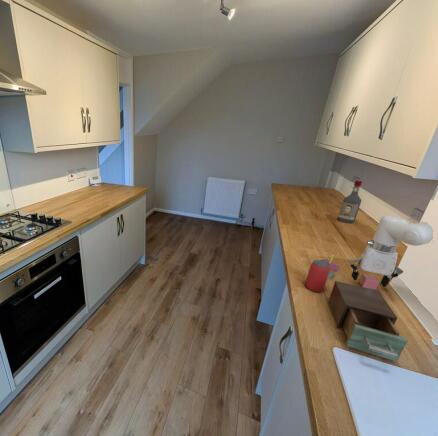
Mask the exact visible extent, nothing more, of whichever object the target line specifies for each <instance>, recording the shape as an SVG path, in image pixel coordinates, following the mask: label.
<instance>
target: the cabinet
mask: <svg viewBox="0 0 438 436" xmlns="http://www.w3.org/2000/svg"><path fill="white" fill-rule="evenodd" d="M327 302H328V305H329V308H330V311H331V315H332V318H333V320H334V323H335V326H336V328H337V329H340V330H344V328H343V325H342V322H343V319H344V316H345V314H346V311H347V309H348V308H352V309H356V310H360V311H364V312H367V313H371V314H375V315H379V316H383V317H387V318H390V320H391V321H392V323H393V324H394V325H395V324H396V322H397V320H398V317H397V315H396V314H395V312H394V311H393V309H392V307H391V306H390V305H389V303H388V302H387V300H386V299H385V297H384V296H383V295H382V293H381V291H380V290H379V289H376V290H374V289H370V288H365V287H362V286H361V285H356V284H351V283H346V282H343V281H337V280H335V281H334V283H333V287H332V289H331V292H330V295H329V298H328V300H327Z"/></svg>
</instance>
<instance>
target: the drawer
mask: <svg viewBox="0 0 438 436" xmlns="http://www.w3.org/2000/svg"><path fill="white" fill-rule="evenodd" d="M342 325H343V328H344V333H345V336H346V338H347V339H346V342H345V344H346V347H349V348H352V349H354V350H357V351H361V352H364V353H368V354H371V355H374V356H377V357H381V358H384V359H387V360H390V361H394V362H398V360H399V358H400V357H401V355H402V353H403V350H404V349H405V347H406V345H407V344H408V339H407V338H406V337H404V336H401V335H400V332H399V331H398V329H397V327H396V326H395V324H393V323H392V321H391V320H390V318H387V317H383V316H379V315H375V314H371V313H367V312H364V311H360V310H356V309H352V308H348V309H347V311H346V314H345V316H344V319H343V322H342Z"/></svg>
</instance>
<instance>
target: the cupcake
mask: <svg viewBox="0 0 438 436" xmlns="http://www.w3.org/2000/svg"><path fill="white" fill-rule="evenodd" d="M334 257H335V253H333V254H332V255H331V257H330V259H326V258H325V259H321V260H322V261H325V262H327V263H328V264H329V265H330V272H329V275H328V278H327V279H329V278H332V277H333V275H334V274H336V273H339V271H340V267H339V265H338V264H337V263H335V262H334V261H333V259H334Z"/></svg>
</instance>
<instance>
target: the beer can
mask: <svg viewBox="0 0 438 436" xmlns="http://www.w3.org/2000/svg"><path fill="white" fill-rule="evenodd" d="M322 260H323V259H313V261H312V262H311V264H310V265H309V269H308V272H307V276H306V278H305V283H304V285H305V287H306V288H307V289H308V290H310V291H311V292H315V293H321V292H324V290H325V287H326V284H327V282H328V279H329V278H328V275H329V272H330V265H329V264H328V263H327V262H325V261H322Z"/></svg>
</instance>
